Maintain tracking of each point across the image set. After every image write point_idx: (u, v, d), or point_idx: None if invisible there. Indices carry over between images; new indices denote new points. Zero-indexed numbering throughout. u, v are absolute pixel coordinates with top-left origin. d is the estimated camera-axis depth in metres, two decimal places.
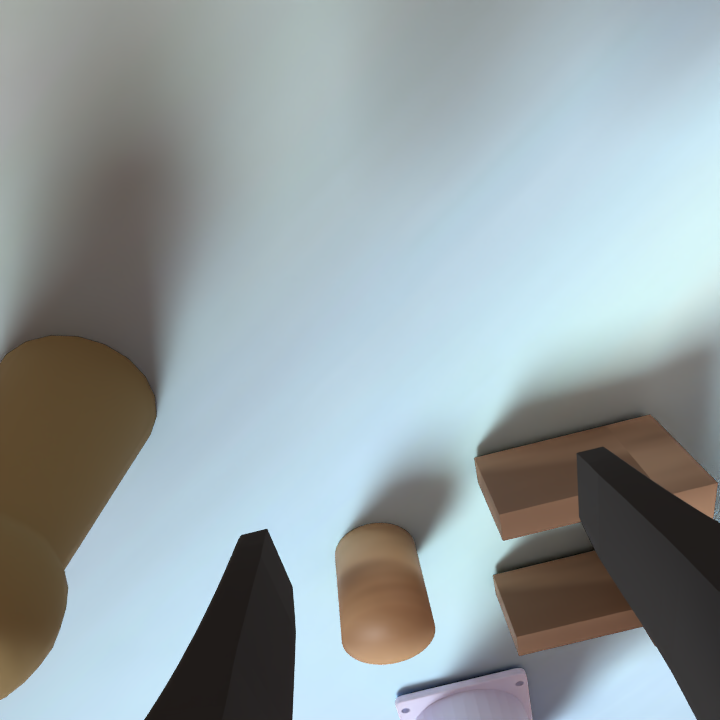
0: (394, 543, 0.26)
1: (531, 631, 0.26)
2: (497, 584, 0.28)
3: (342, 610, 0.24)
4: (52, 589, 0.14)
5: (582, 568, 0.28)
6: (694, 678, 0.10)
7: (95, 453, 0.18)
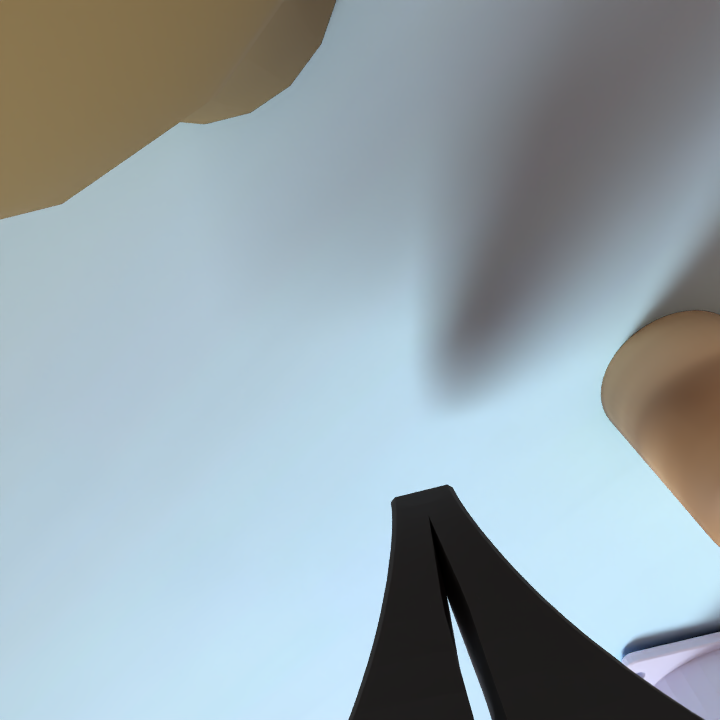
0: None
1: None
2: None
3: (694, 440, 0.12)
4: None
5: None
6: None
7: None
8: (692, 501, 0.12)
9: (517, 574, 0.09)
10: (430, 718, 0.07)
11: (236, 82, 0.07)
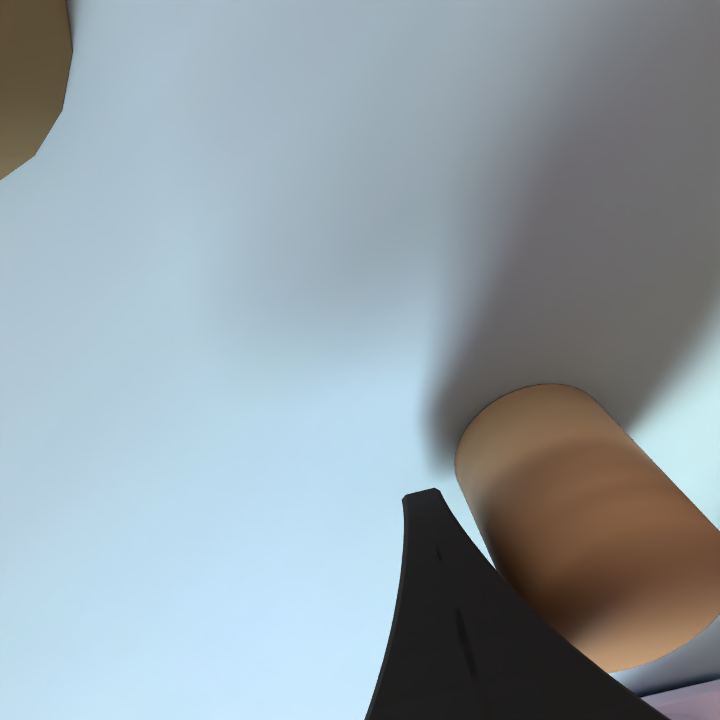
0: (599, 416, 0.12)
1: None
2: None
3: (518, 549, 0.10)
4: None
5: None
6: None
7: None
8: None
9: (500, 578, 0.09)
10: (448, 713, 0.07)
11: None
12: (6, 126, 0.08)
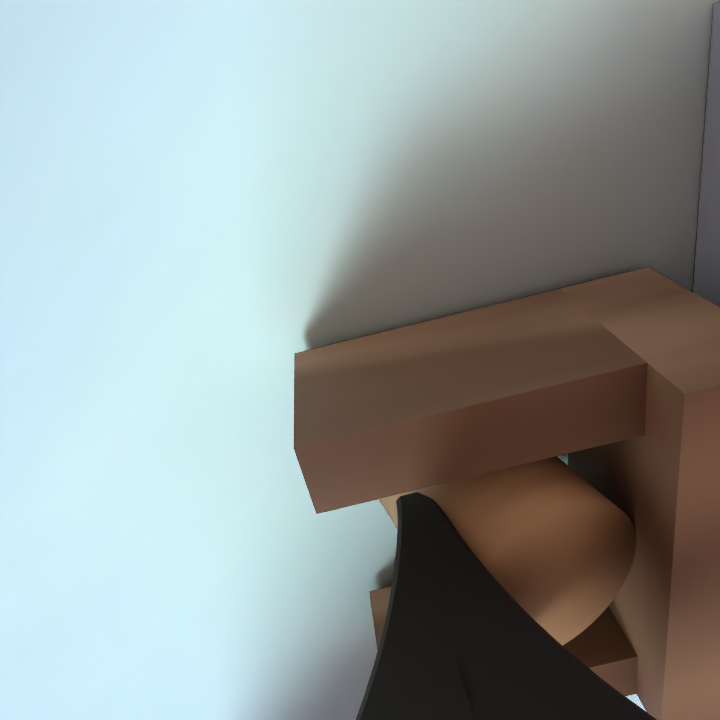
0: None
1: None
2: (373, 608, 0.16)
3: None
4: None
5: None
6: None
7: None
8: None
9: (493, 580, 0.09)
10: (438, 716, 0.07)
11: None
12: None
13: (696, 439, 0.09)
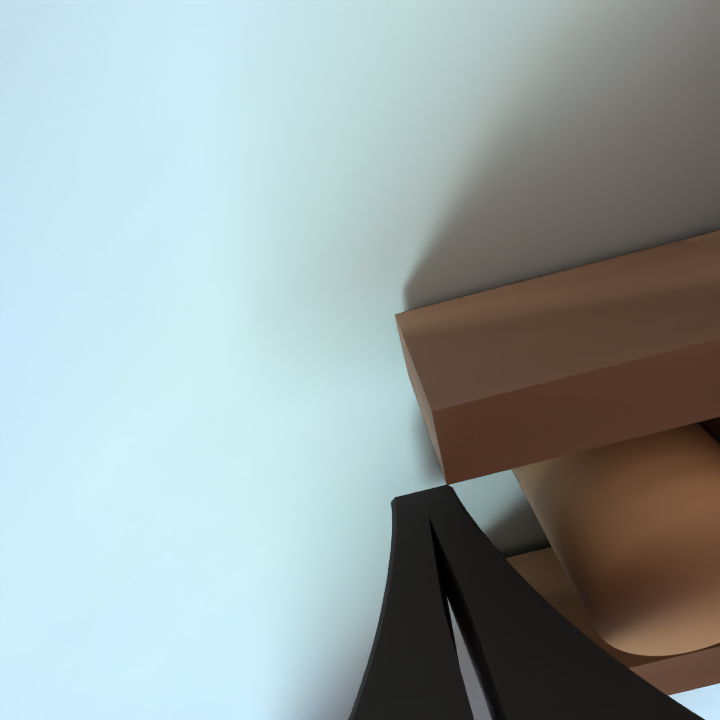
0: None
1: None
2: None
3: (581, 530, 0.10)
4: None
5: None
6: None
7: None
8: (581, 598, 0.10)
9: (517, 574, 0.09)
10: (430, 718, 0.07)
11: None
12: None
13: None
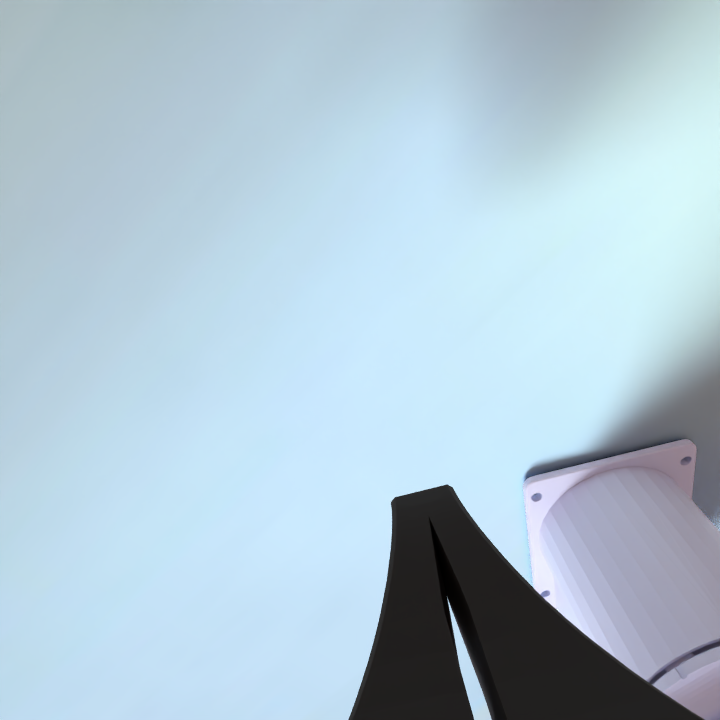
0: None
1: None
2: None
3: None
4: None
5: None
6: None
7: None
8: None
9: (517, 574, 0.09)
10: (430, 718, 0.07)
11: None
12: None
13: None
